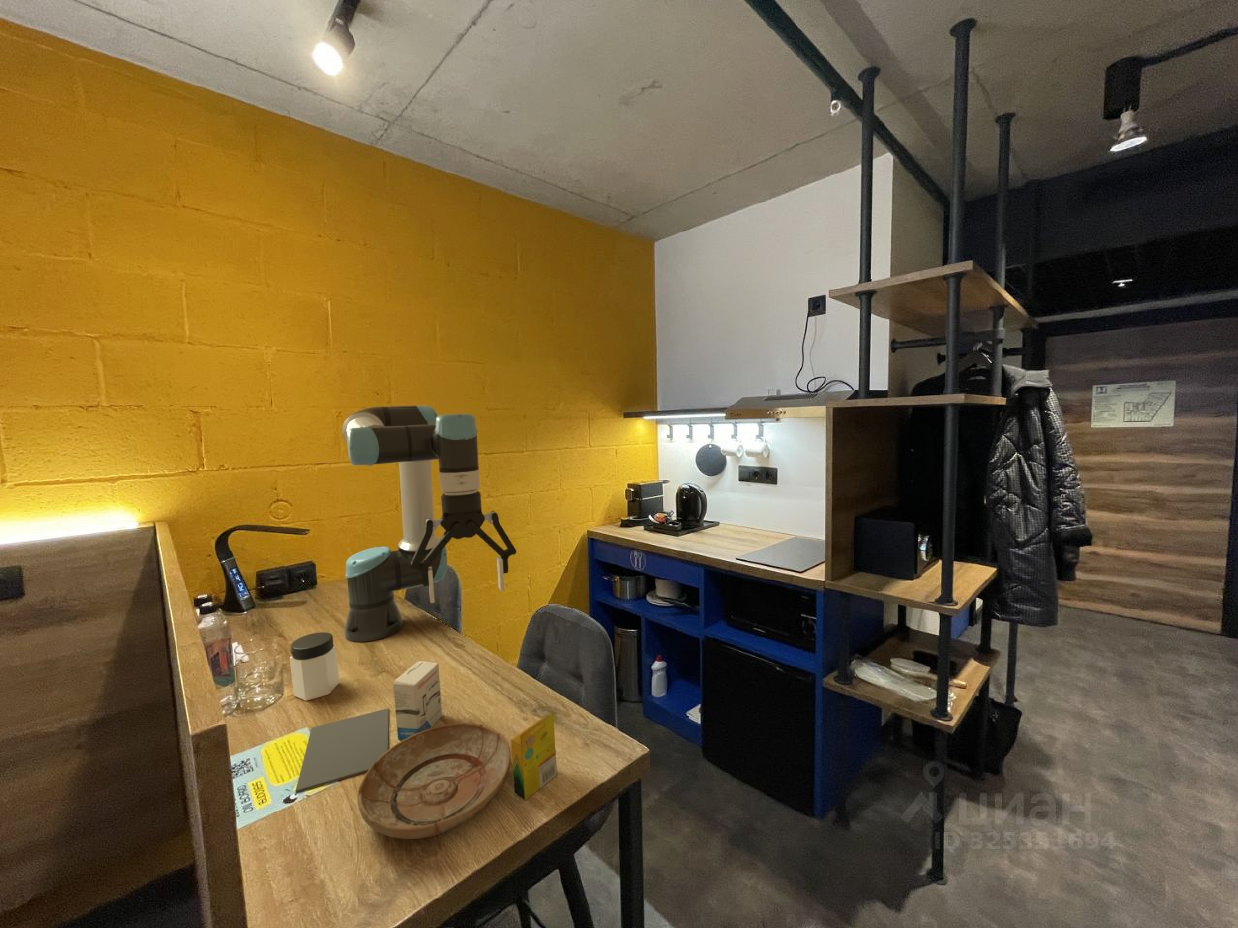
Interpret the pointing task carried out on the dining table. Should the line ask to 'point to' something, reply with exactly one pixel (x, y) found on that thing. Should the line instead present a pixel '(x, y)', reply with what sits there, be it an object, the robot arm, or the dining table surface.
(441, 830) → the ceramic bowl
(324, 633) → the jar
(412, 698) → the ink box
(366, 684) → the dining table surface
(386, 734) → the mat
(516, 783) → the crayon box
